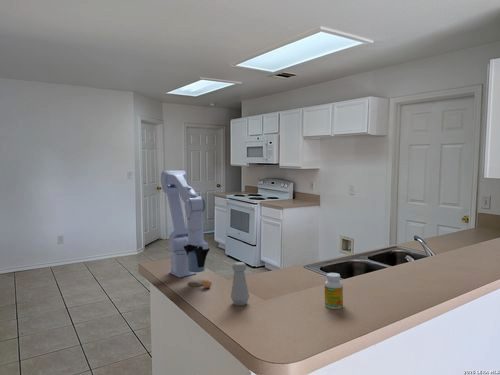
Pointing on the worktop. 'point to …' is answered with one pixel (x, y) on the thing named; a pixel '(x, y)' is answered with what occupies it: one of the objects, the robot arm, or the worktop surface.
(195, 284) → the disc
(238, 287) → the salt shaker
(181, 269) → the robot arm
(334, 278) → the supplement bottle
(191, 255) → the cup
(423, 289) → the worktop surface
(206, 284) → the ball
